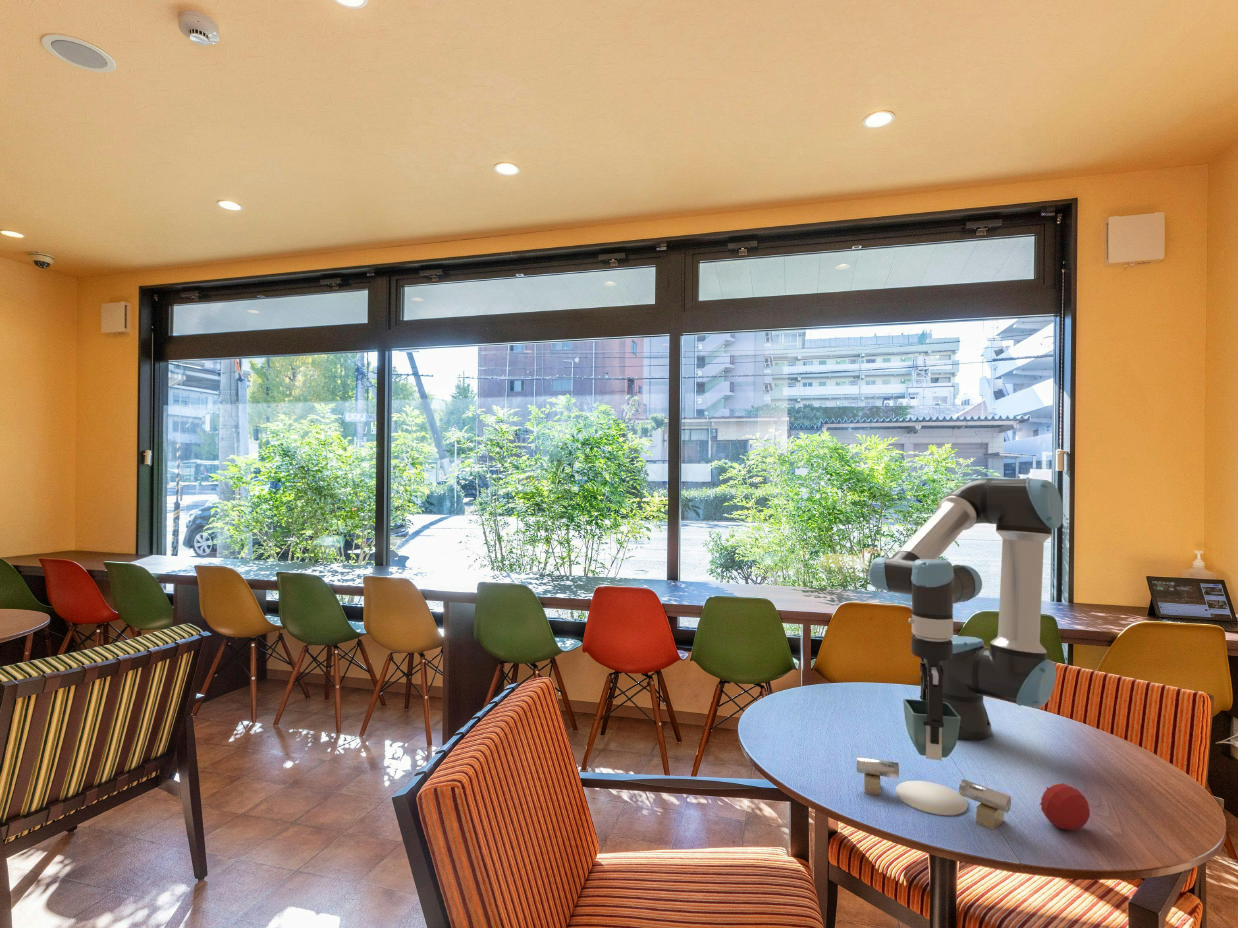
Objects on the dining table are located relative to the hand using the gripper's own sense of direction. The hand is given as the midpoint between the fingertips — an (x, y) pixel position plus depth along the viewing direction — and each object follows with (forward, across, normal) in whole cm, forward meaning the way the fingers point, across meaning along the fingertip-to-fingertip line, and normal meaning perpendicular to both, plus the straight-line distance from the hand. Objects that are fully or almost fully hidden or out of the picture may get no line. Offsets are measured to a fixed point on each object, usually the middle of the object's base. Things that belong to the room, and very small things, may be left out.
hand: (930, 748), depth 129 cm
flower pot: (+1, 0, 0) cm, 1 cm away
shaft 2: (+10, +5, +9) cm, 14 cm away
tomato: (+10, +2, +22) cm, 24 cm away
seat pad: (+10, 0, 0) cm, 10 cm away
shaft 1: (+10, 0, -10) cm, 14 cm away
